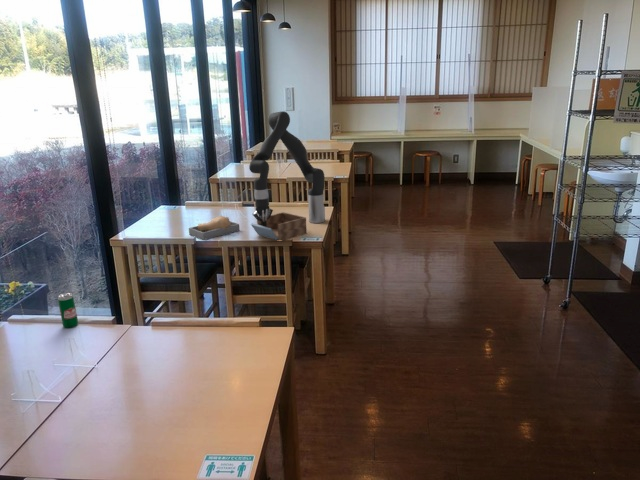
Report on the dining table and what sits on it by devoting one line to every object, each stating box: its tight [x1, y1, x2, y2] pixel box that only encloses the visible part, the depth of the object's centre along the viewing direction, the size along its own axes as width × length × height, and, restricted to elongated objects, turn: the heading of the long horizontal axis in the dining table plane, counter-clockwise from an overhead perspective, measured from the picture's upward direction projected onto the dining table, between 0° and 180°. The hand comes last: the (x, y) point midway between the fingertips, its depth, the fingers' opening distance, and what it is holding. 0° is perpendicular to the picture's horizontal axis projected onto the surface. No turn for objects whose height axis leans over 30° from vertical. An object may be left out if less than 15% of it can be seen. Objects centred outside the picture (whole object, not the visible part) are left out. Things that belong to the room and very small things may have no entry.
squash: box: [197, 215, 231, 232], centre depth 292 cm, size 11×20×9 cm, turn 86°
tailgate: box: [250, 222, 278, 241], centre depth 276 cm, size 1×17×8 cm
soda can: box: [57, 292, 79, 329], centre depth 180 cm, size 5×5×12 cm
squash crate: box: [188, 220, 241, 241], centre depth 292 cm, size 25×16×4 cm, turn 134°
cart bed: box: [256, 211, 308, 241], centre depth 285 cm, size 20×20×10 cm
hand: (264, 227), depth 276 cm, fingers closed
